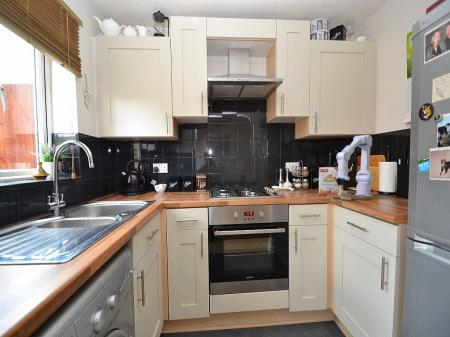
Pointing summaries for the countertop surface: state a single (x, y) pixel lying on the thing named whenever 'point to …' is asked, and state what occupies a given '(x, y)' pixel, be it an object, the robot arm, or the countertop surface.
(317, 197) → the countertop surface
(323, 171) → the cracker box
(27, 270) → the countertop surface
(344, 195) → the gauge
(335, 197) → the board
